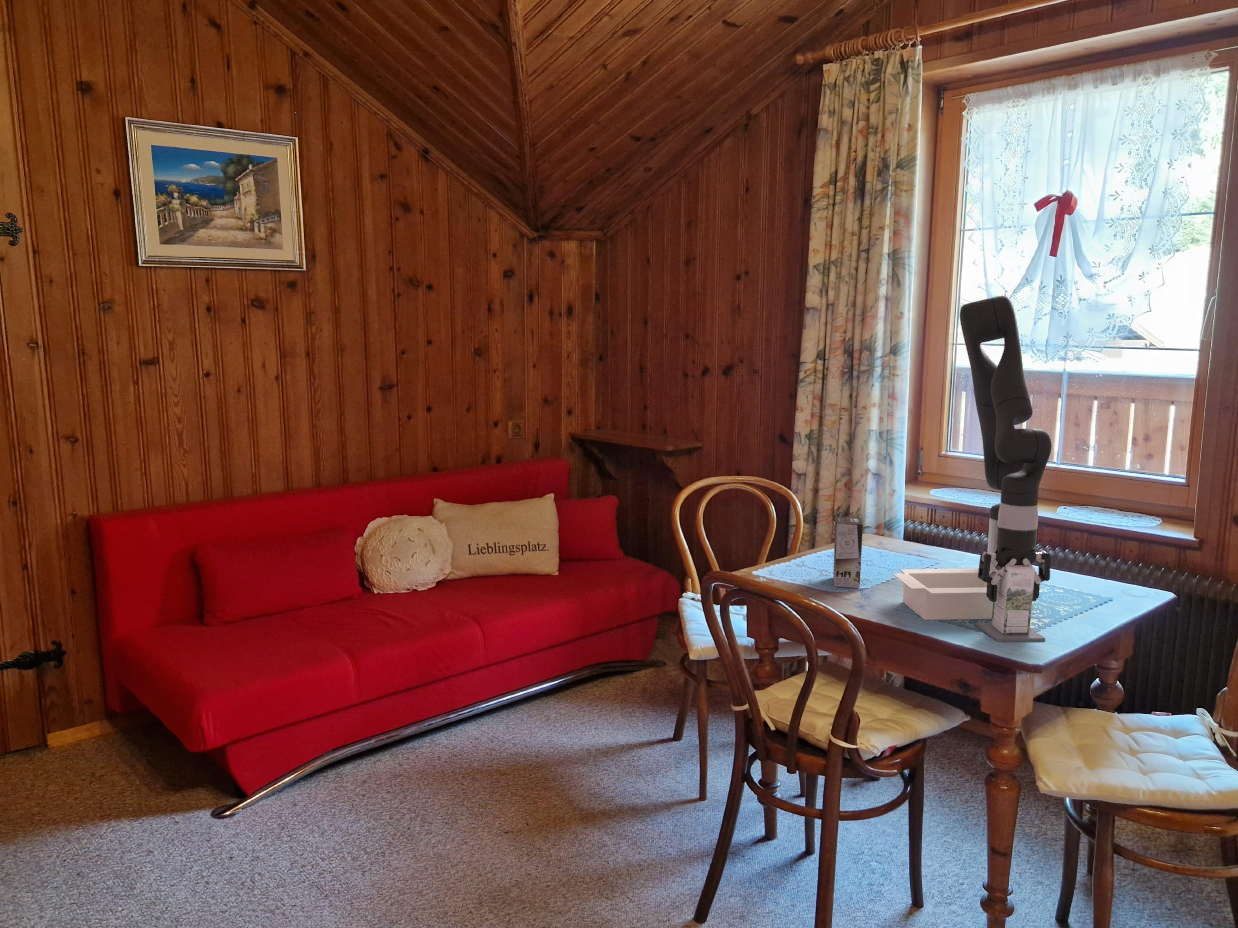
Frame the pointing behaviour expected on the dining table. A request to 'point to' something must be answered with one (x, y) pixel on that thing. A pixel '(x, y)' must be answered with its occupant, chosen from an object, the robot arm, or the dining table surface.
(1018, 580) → the syrup box
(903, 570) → the carton
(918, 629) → the dining table surface
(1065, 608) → the dining table surface
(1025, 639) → the coaster
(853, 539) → the coffee box
